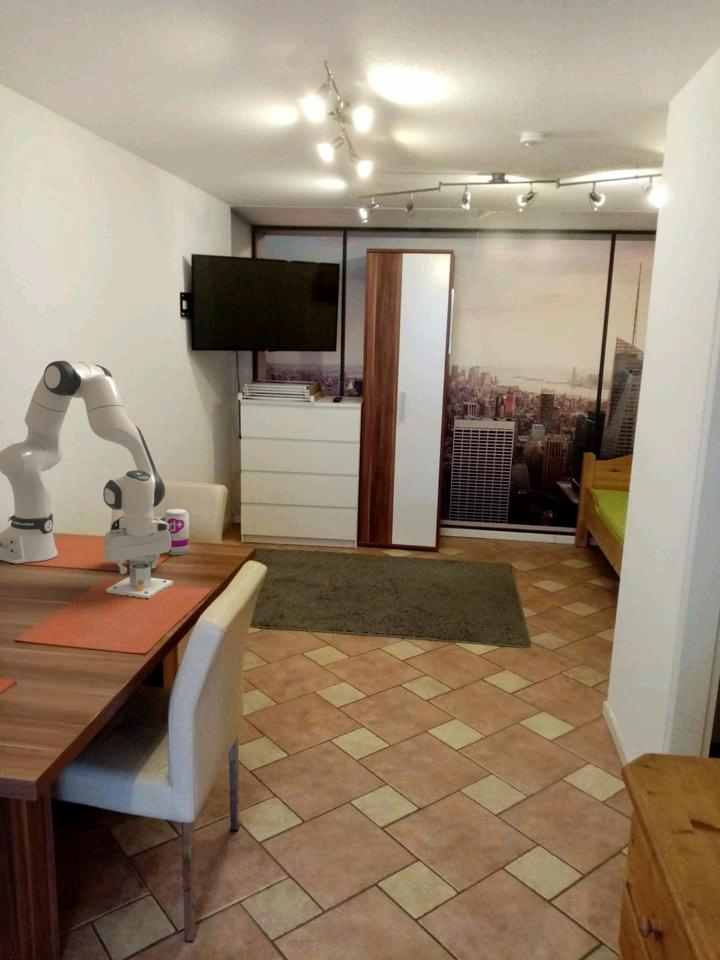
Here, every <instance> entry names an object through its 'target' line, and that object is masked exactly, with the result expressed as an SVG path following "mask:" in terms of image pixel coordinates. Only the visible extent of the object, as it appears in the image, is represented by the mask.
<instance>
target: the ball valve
mask: <svg viewBox="0 0 720 960" xmlns="http://www.w3.org/2000/svg"><path fill="white" fill-rule="evenodd" d="M154 518H155V519H159V520H162V521H164V522H166V518H165V516H164V517H163V516H154ZM166 523H167V522H166ZM121 528H123V515H122V516H121V517H119V518H116V520H114V521H113V522H112V524H111V527H110V530H116V529H121ZM168 531H169V532H170V535H171V536H172V529H171V526H170V525H169V530H168ZM152 559H153V555H148V556H142V557H137V558H131V559H126V560H125V562H126V564H127V565H129V566H130V565H132V564H135V563H148V564H149V562H150V561H152ZM157 563H158V561H157V562H156V564H157Z"/></svg>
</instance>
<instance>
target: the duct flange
mask: <svg viewBox="0 0 720 960" xmlns="http://www.w3.org/2000/svg"><path fill="white" fill-rule="evenodd" d="M135 568H137V569H138V568H145V565H142V564H139V565H136V566H135ZM173 584H174V581H173V580H168V579H163V578H156V577H151V586H149V587H147V588H143V590H140V591H138V589H136V588H132V587H130V576H127V577H126V578H124V579H122V580H121V581H118V582H117V583H115V584H114V585H112V586H109V587H108V588H106V589H105V592H106V593H109V594H114V595H115V594H116V595H119V596H120V595H121V596H126V595H128V597H132V596H135V597H134V598H139V597H141V598H140V599H145V598H149V599H151V598H152V597H151V596H153V595H154V596H156V595H157V594H156V593H158V592H159V591H161V590H162V591H164V590H165V589H164V588H166V587H167V588H169V587H171V586H172V585H173ZM168 586H169V587H168ZM167 588H166V589H167ZM163 589H164V590H163ZM162 591H161V592H162ZM159 593H160V592H159ZM159 593H158V594H159ZM155 594H156V595H155ZM154 596H153V597H154ZM150 597H151V598H150Z"/></svg>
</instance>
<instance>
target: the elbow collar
mask: <svg viewBox="0 0 720 960" xmlns="http://www.w3.org/2000/svg"><path fill="white" fill-rule="evenodd" d="M139 564H142V565H145V568H138V569H137V568H135V566H136V565H139ZM151 572H152V568H151V564H148V563H135V564H132V565H130V564H129V577H130V587H132V588H136V589H138V591H140V590H143V588H147V587H149V586H151V578H152V573H151Z"/></svg>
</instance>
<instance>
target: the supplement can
mask: <svg viewBox="0 0 720 960" xmlns="http://www.w3.org/2000/svg"><path fill="white" fill-rule="evenodd" d="M164 517H165V518H166V522H167V523H168V524H169V525H170V526H171V529H172V536H171V549H170V550H169V552H165V554H167V553H169V554H168V555H170V554H171V555H170V556H181V555H185V554H188V552H189V550H190V549H189V547H190V543H189V542H190V539H189V538H190V535H189V533H190V527H189V526H190V515H189V512H188V510H187V509H184V508H170V509H169V508H167V510H166V512H165V513H164Z"/></svg>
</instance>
